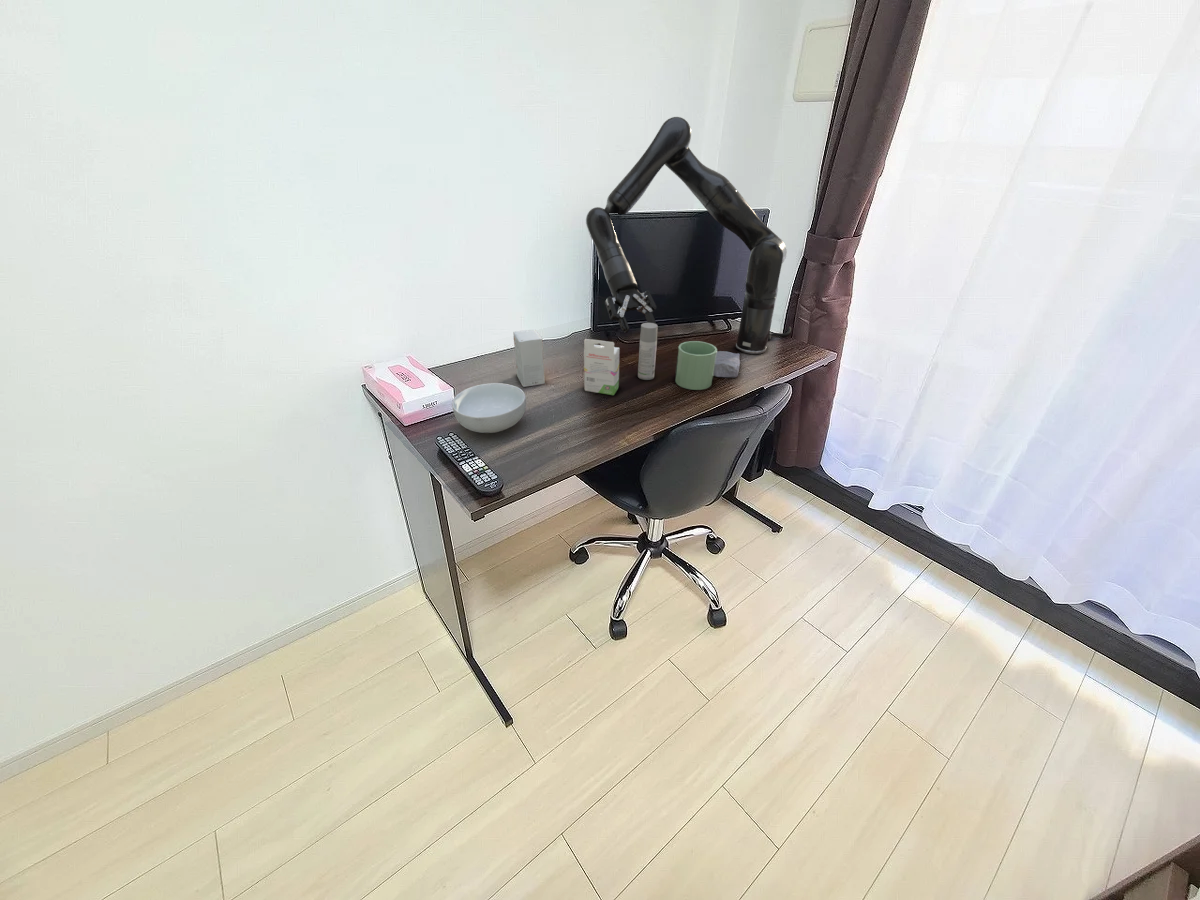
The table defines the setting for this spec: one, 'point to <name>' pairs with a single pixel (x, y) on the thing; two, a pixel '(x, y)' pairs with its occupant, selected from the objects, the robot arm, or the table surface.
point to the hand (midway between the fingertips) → (640, 328)
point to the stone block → (726, 364)
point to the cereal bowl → (489, 407)
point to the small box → (529, 357)
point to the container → (647, 351)
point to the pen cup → (695, 365)
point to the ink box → (601, 367)
